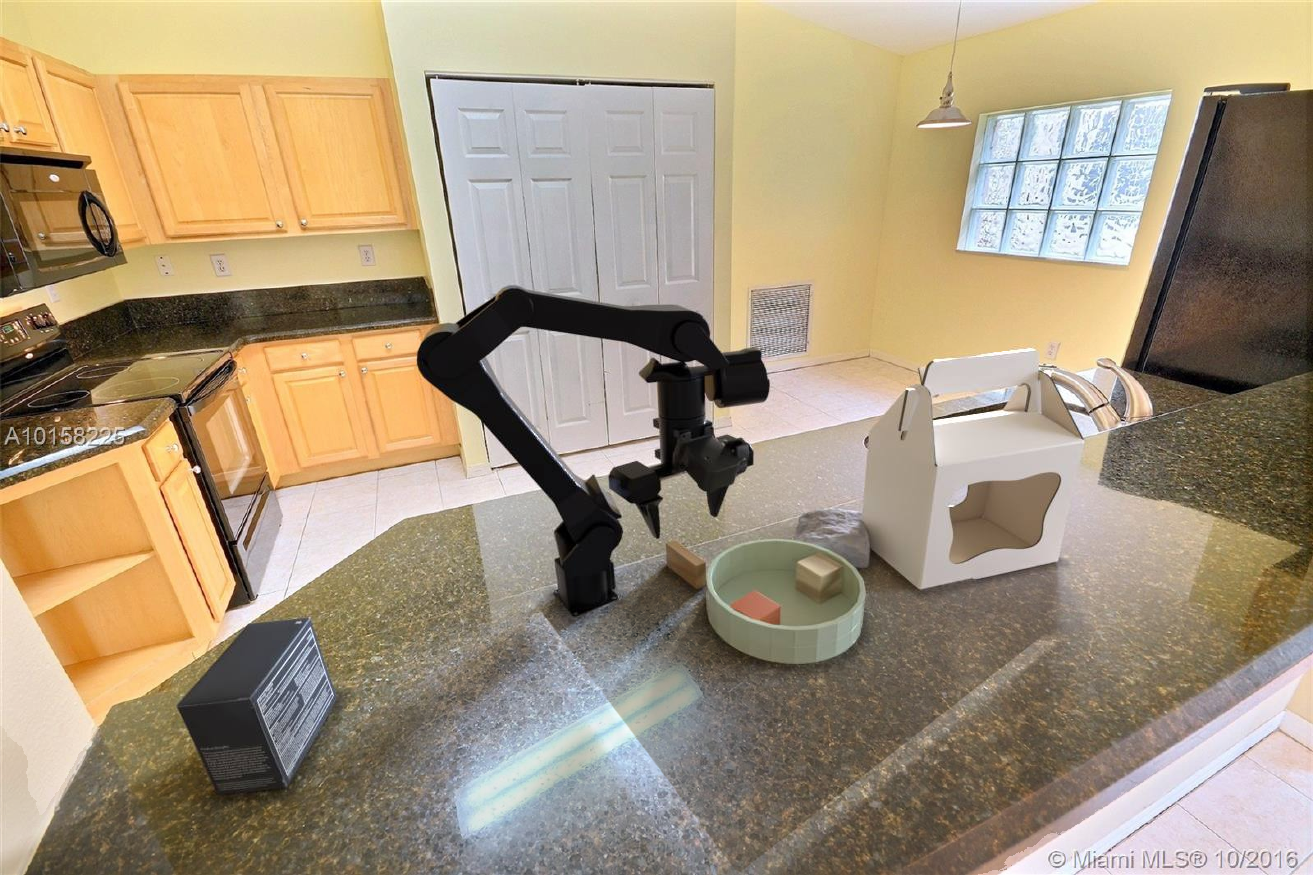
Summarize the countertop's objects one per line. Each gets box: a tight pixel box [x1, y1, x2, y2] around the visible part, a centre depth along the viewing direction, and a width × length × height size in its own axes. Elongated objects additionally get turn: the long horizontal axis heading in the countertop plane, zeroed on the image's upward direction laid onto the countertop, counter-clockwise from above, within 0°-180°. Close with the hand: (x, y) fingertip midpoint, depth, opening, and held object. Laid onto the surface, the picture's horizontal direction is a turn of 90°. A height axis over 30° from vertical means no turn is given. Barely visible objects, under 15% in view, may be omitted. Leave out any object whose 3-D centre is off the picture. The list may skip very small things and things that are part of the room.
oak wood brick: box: [665, 539, 707, 590], centre depth 77 cm, size 2×7×4 cm, turn 33°
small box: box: [175, 616, 339, 796], centre depth 53 cm, size 11×6×10 cm, turn 5°
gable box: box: [861, 348, 1086, 590], centre depth 76 cm, size 22×13×28 cm, turn 105°
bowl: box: [705, 538, 867, 665], centre depth 69 cm, size 18×18×5 cm
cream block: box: [796, 552, 844, 605], centre depth 72 cm, size 4×4×4 cm
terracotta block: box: [730, 590, 781, 625], centre depth 65 cm, size 4×4×4 cm
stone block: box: [793, 507, 871, 569], centre depth 82 cm, size 12×5×10 cm
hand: (685, 526), depth 75 cm, fingers open, 9 cm apart
